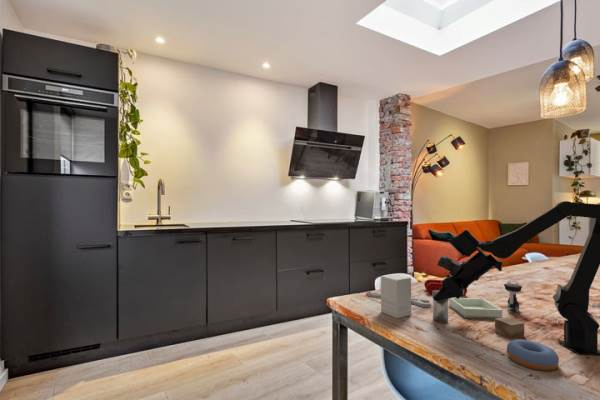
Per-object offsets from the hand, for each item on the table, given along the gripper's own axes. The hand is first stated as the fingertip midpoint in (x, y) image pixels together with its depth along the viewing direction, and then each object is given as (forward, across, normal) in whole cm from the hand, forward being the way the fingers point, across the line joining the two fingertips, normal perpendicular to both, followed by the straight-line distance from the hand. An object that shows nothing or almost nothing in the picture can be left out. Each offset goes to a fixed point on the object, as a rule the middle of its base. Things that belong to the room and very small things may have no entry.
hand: (435, 297), depth 98 cm
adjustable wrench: (+17, -14, -6) cm, 23 cm away
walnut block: (-9, 0, +19) cm, 21 cm away
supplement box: (+14, +2, -4) cm, 15 cm away
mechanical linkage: (+7, -34, +4) cm, 35 cm away
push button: (-10, -24, +20) cm, 33 cm away
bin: (-2, -15, +12) cm, 20 cm away
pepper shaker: (+4, 0, +6) cm, 7 cm away
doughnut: (-12, +16, +22) cm, 30 cm away
